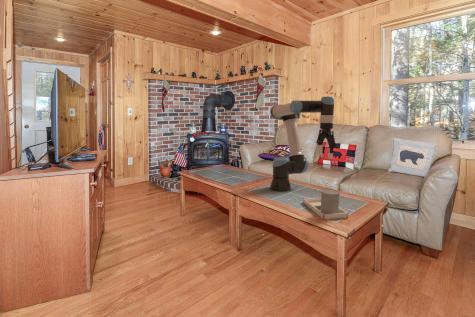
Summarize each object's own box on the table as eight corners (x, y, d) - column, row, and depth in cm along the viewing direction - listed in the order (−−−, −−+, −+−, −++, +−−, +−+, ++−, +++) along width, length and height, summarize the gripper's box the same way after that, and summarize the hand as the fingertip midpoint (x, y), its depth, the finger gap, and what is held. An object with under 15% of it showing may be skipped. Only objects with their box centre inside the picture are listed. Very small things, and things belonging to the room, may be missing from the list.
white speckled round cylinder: (323, 208, 156) (324, 188, 154) (340, 211, 150) (341, 190, 148) (318, 213, 148) (319, 192, 146) (335, 217, 143) (337, 195, 141)
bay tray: (303, 202, 168) (303, 198, 168) (324, 201, 170) (324, 197, 170) (323, 219, 141) (323, 214, 141) (348, 217, 143) (348, 213, 143)
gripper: (343, 123, 151) (341, 159, 155) (322, 121, 176) (321, 153, 179) (330, 123, 150) (329, 160, 154) (312, 121, 174) (310, 153, 178)
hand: (324, 156), depth 167 cm, fingers open, 13 cm apart
